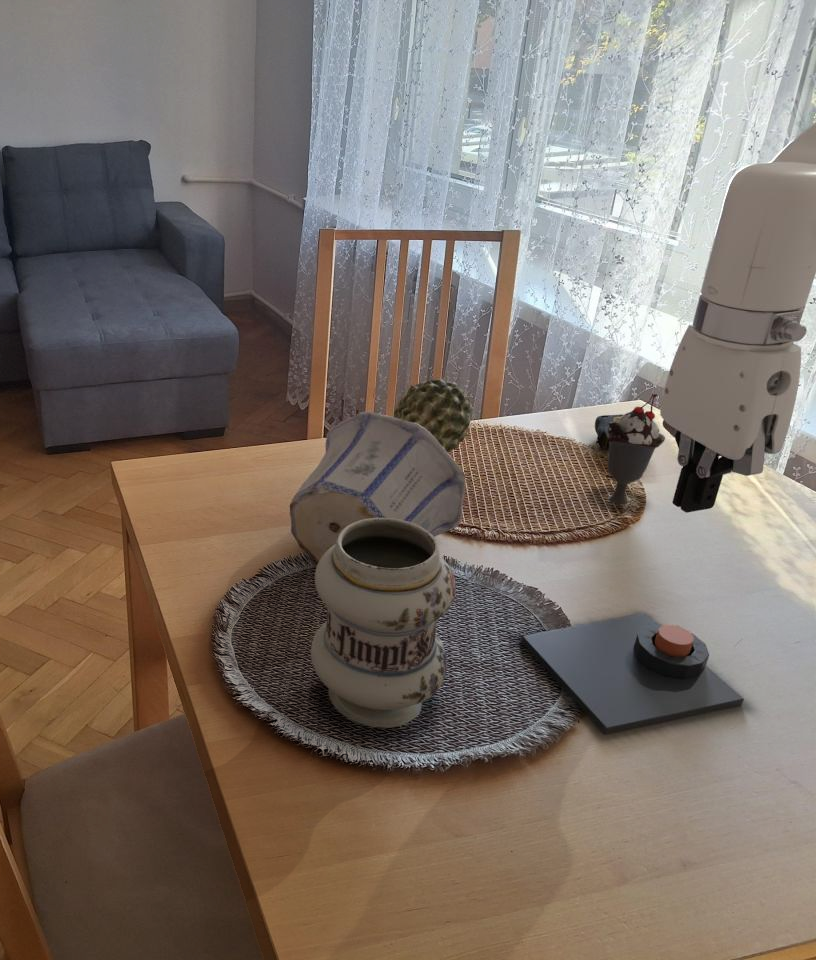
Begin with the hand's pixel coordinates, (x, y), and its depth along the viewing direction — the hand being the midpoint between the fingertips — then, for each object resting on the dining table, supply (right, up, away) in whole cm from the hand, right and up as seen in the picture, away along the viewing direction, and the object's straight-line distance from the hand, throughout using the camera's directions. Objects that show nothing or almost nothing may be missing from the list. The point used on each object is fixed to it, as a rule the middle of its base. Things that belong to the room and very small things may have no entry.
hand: (692, 506), depth 81 cm
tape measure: (+14, +7, +43) cm, 46 cm away
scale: (-6, -17, +1) cm, 18 cm away
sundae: (+8, -1, +29) cm, 30 cm away
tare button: (-2, -13, 0) cm, 14 cm away
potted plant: (-22, -4, +25) cm, 34 cm away
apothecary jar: (-30, -19, -1) cm, 36 cm away
